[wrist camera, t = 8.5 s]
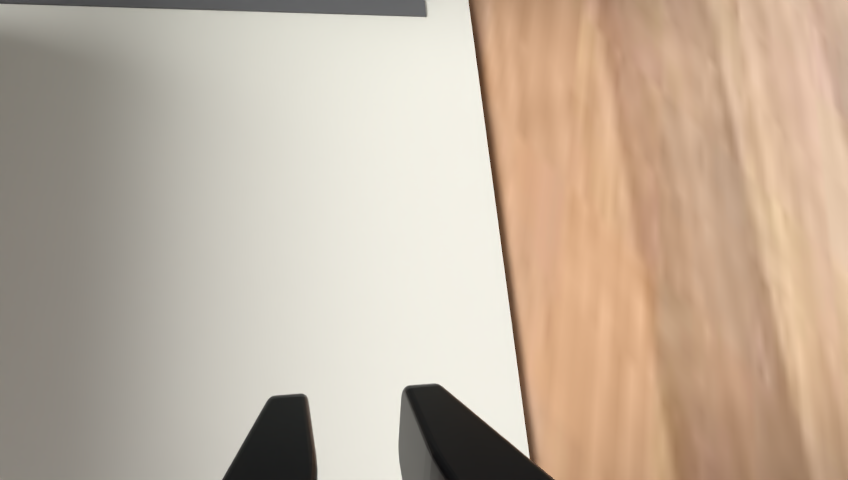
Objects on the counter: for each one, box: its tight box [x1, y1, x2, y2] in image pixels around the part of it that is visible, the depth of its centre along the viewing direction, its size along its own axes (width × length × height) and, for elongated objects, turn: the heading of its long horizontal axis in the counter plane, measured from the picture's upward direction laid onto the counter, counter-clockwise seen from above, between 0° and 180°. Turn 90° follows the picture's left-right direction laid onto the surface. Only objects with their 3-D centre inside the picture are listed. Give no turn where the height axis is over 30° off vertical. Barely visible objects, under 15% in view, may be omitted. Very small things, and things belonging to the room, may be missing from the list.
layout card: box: [0, 0, 530, 480], centre depth 20 cm, size 18×19×1 cm
